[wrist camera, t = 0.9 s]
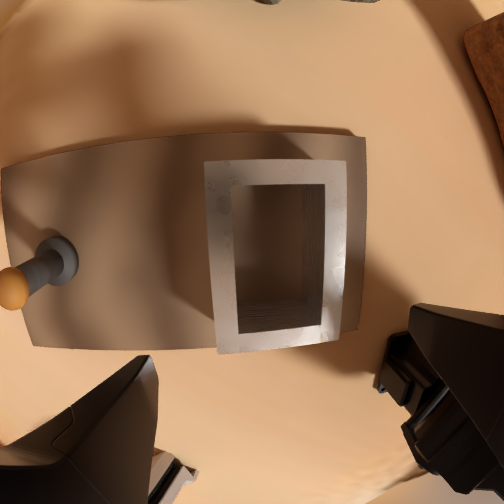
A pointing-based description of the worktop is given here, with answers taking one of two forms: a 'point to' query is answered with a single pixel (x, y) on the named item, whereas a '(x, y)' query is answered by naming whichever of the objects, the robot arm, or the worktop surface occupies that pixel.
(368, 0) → the tabletop clock
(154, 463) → the grey rounded block
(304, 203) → the hollow metal box
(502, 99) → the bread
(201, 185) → the board
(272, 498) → the worktop surface
